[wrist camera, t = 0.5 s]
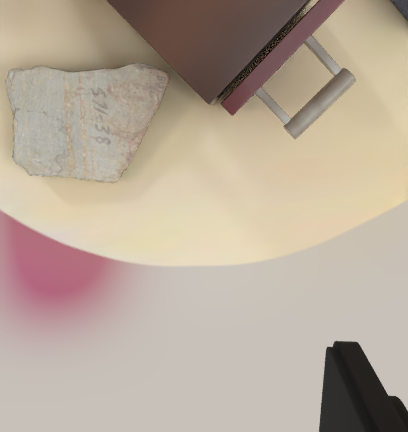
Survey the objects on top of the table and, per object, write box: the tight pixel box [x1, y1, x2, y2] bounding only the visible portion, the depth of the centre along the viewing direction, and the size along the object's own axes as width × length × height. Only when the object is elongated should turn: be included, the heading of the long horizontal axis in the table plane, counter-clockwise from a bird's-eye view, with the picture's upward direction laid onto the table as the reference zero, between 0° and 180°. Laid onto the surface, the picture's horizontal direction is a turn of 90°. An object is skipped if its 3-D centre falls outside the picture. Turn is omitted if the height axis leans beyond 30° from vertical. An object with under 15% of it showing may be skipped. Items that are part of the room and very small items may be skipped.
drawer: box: [221, 0, 356, 139], centre depth 29 cm, size 18×10×7 cm, turn 46°
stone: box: [5, 63, 170, 183], centre depth 35 cm, size 15×11×3 cm
